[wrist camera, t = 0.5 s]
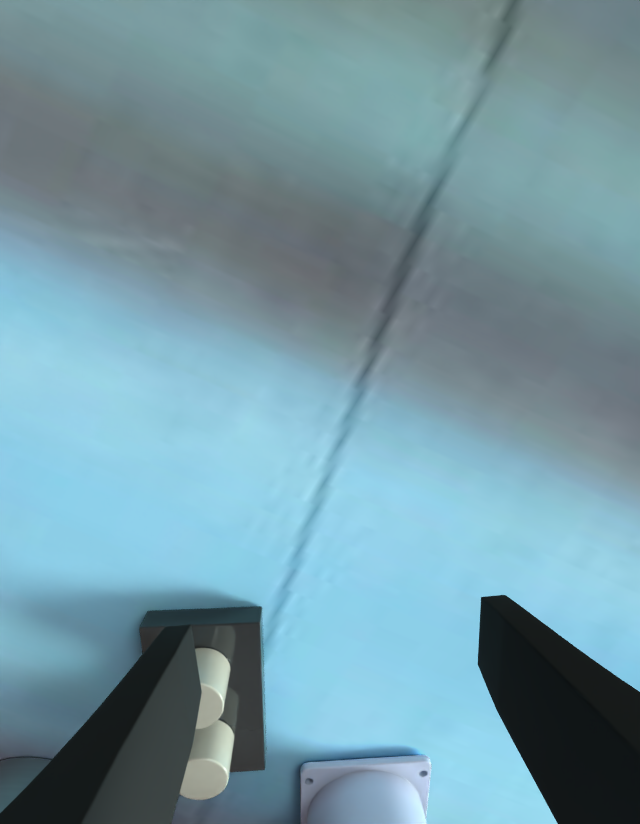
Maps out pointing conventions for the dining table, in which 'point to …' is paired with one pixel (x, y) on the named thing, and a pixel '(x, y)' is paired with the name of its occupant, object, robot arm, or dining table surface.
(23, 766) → the steel pot
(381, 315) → the dining table surface
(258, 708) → the sushi plate
